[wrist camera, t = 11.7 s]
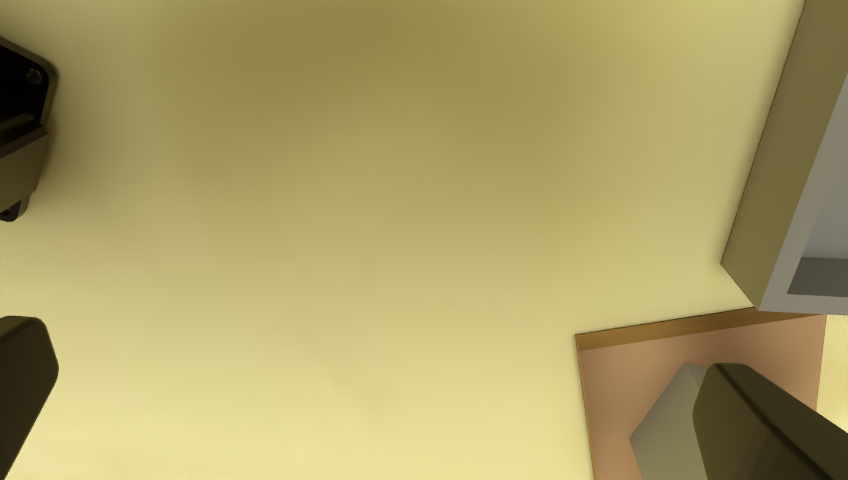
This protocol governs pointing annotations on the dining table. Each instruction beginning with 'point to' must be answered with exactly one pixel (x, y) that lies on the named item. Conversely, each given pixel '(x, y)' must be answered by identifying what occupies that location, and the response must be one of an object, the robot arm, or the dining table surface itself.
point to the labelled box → (671, 431)
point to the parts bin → (800, 179)
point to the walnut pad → (665, 354)
